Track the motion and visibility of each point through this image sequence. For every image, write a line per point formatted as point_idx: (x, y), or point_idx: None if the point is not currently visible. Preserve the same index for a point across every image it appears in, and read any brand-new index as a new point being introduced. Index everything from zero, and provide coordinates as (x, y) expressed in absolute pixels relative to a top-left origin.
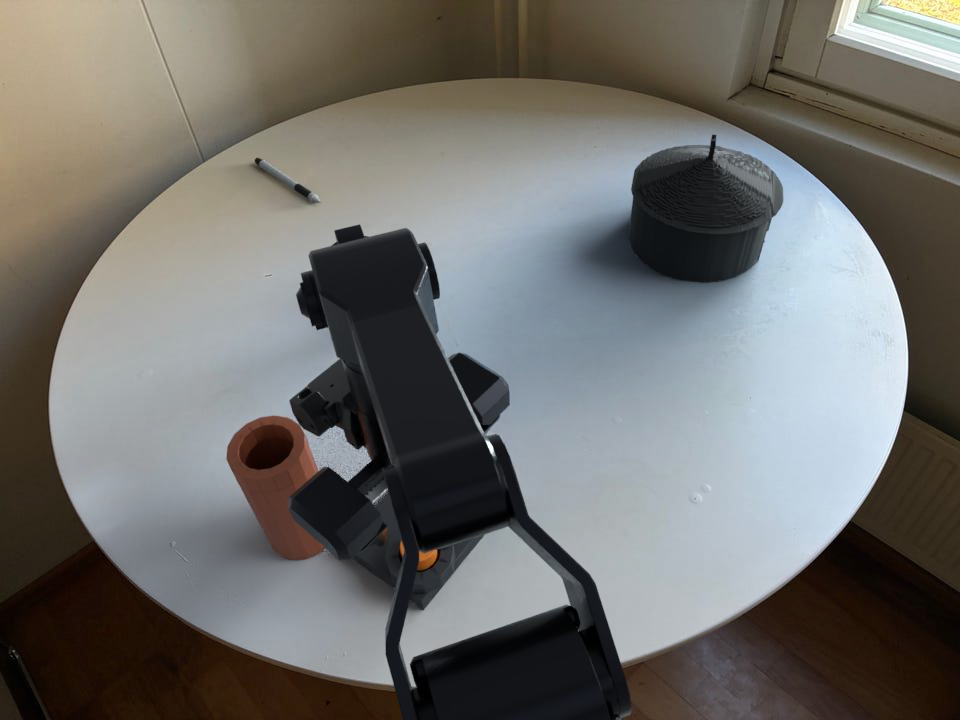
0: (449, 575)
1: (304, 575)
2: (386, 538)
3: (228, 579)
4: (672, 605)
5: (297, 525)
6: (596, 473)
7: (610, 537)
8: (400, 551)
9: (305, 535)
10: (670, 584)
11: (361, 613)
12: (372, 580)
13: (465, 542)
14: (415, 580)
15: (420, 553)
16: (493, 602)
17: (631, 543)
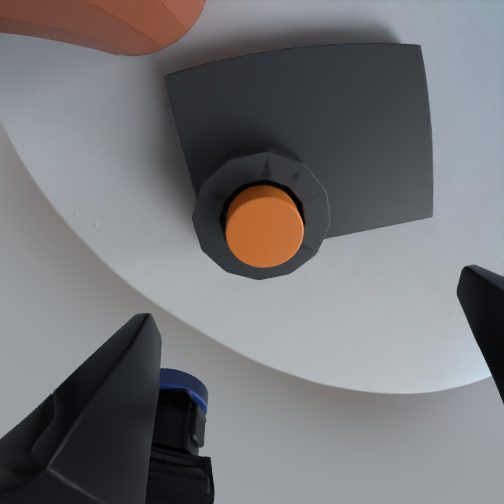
0: None
1: (100, 78)
2: (154, 415)
3: None
4: (400, 377)
5: (69, 41)
6: (494, 250)
7: (438, 312)
8: (228, 218)
9: (98, 46)
10: (416, 366)
11: (138, 190)
12: (180, 154)
13: (339, 229)
14: (221, 258)
15: (257, 252)
16: (298, 295)
17: (439, 327)
